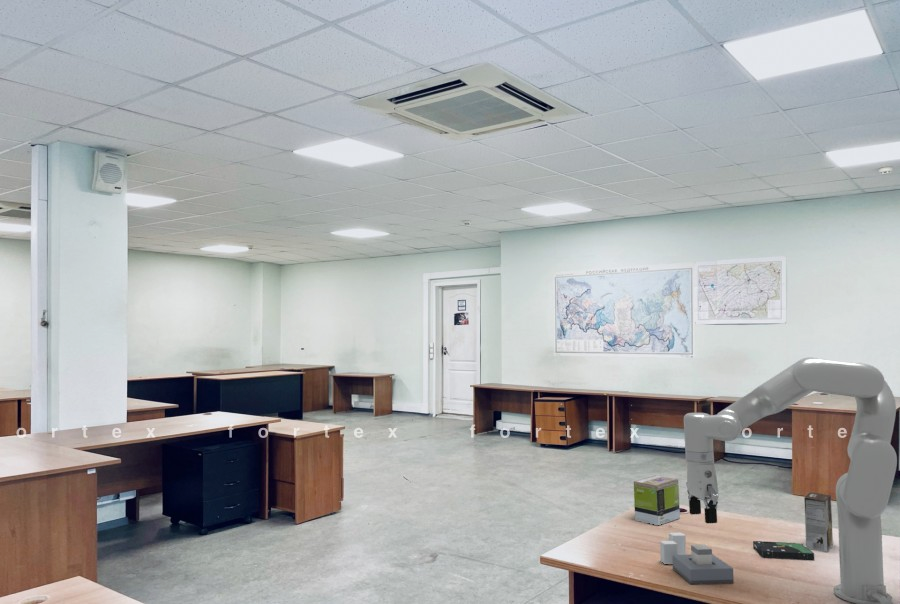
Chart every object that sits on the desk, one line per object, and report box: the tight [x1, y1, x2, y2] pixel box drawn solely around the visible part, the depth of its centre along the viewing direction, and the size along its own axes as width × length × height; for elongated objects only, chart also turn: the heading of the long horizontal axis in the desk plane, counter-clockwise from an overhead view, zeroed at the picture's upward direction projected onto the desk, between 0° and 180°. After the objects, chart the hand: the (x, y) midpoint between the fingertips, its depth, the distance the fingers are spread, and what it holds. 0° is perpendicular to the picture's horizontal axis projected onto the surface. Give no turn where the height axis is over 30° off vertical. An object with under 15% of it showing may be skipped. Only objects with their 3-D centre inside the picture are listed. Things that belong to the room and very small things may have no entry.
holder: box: [672, 553, 734, 585], centre depth 183 cm, size 12×12×4 cm
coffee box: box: [804, 491, 834, 553], centre depth 209 cm, size 9×6×16 cm
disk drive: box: [752, 540, 815, 561], centre depth 202 cm, size 10×3×15 cm
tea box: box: [633, 475, 681, 526], centre depth 241 cm, size 15×10×15 cm
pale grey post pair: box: [659, 532, 687, 565], centre depth 198 cm, size 11×10×6 cm
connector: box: [690, 543, 713, 565], centre depth 183 cm, size 4×4×7 cm
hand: (703, 518), depth 184 cm, fingers open, 9 cm apart
